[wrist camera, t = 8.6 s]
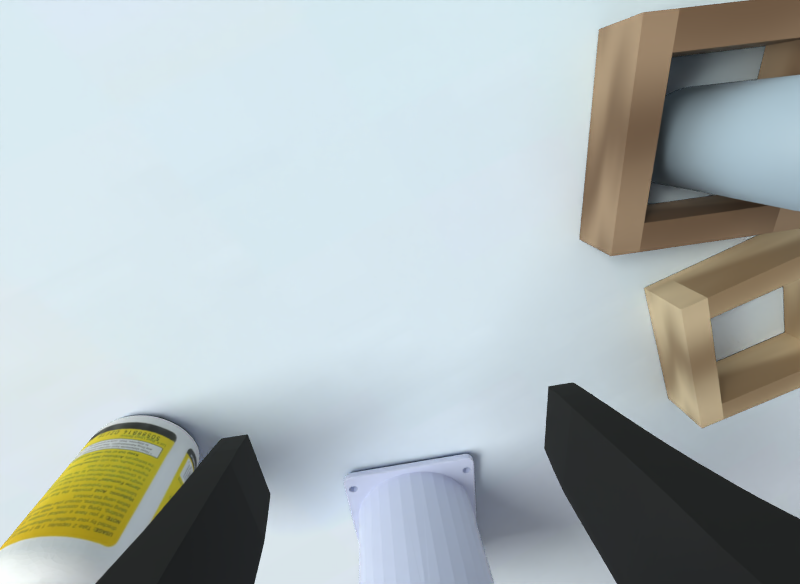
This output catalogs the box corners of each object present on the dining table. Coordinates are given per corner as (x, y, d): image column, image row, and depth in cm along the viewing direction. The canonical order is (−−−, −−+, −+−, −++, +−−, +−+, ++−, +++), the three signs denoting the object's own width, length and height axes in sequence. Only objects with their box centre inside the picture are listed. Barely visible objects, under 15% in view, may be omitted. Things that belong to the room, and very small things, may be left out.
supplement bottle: (72, 435, 20) (-158, 688, 11) (159, 396, 19) (-7, 627, 11) (141, 495, 22) (-3, 746, 13) (222, 462, 22) (128, 698, 13)
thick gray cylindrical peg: (706, 184, 18) (948, 226, 10) (626, 184, 17) (820, 229, 10) (737, 87, 16) (1052, 57, 9) (650, 85, 16) (904, 53, 8)
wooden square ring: (746, 215, 19) (799, 228, 16) (579, 239, 18) (610, 256, 16) (804, 5, 15) (884, -16, 13) (599, 29, 15) (643, 12, 12)
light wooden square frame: (806, 338, 22) (856, 363, 20) (668, 398, 23) (701, 428, 21) (806, 212, 19) (867, 225, 17) (644, 287, 20) (681, 309, 17)
